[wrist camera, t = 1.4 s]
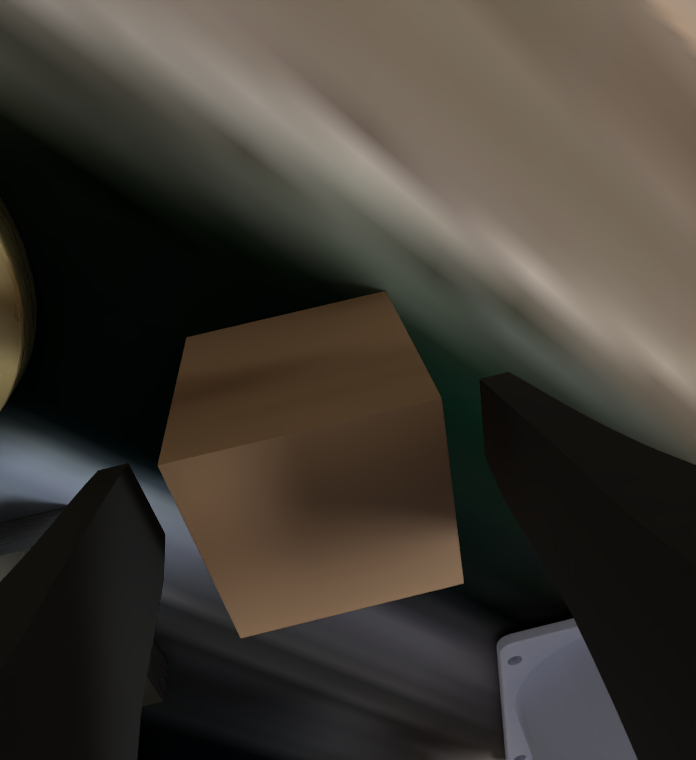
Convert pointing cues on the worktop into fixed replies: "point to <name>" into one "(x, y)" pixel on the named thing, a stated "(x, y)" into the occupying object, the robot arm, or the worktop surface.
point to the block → (312, 464)
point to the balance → (3, 372)
